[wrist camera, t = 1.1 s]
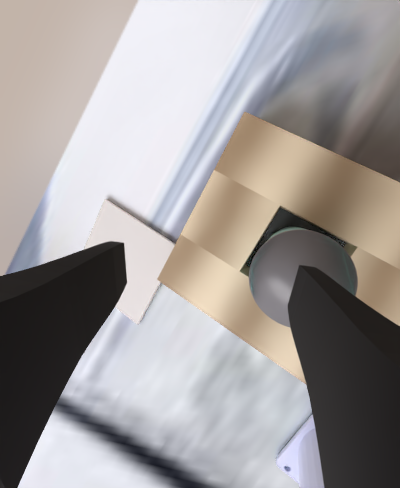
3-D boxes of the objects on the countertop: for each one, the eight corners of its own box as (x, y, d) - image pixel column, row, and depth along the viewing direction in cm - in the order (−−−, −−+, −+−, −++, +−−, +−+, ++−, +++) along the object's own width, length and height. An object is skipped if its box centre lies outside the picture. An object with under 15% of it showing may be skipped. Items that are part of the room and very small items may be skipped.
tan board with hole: (465, 228, 16) (504, 230, 13) (335, 383, 19) (344, 411, 16) (250, 127, 20) (244, 111, 17) (172, 272, 23) (156, 279, 20)
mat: (180, 246, 22) (178, 247, 22) (139, 323, 25) (137, 324, 24) (107, 199, 25) (104, 199, 24) (75, 273, 27) (73, 274, 26)
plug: (336, 244, 18) (382, 265, 10) (302, 293, 20) (317, 349, 11) (282, 215, 19) (281, 211, 11) (252, 262, 21) (231, 292, 12)
